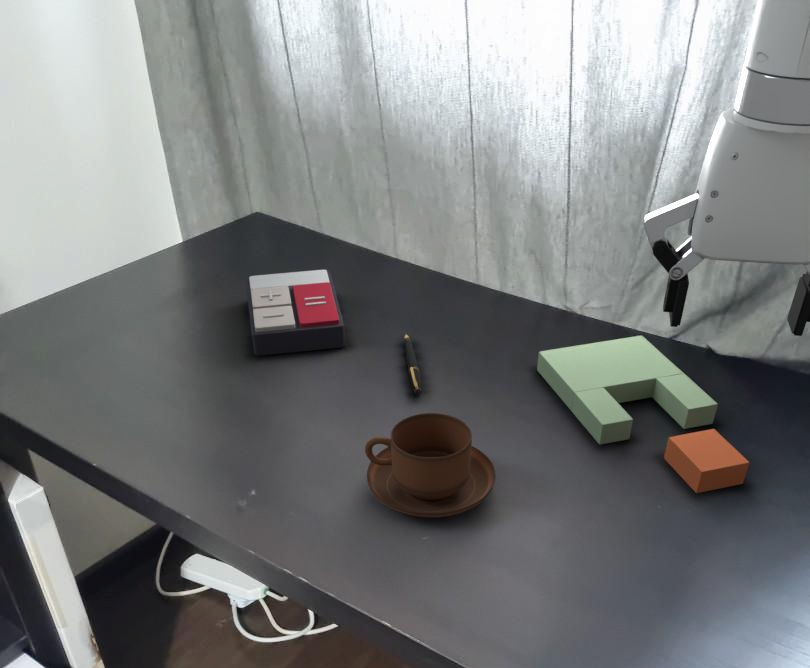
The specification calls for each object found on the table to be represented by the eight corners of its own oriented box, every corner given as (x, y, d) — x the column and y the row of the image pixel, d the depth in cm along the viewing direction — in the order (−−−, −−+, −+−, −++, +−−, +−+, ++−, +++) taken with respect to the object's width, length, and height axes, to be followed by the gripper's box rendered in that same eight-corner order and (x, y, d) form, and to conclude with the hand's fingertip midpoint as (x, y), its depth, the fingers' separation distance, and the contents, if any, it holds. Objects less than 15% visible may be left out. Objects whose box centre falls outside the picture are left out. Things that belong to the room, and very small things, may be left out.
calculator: (250, 329, 96) (244, 271, 107) (255, 361, 99) (249, 302, 110) (344, 319, 97) (329, 264, 108) (346, 351, 100) (331, 294, 111)
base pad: (638, 353, 98) (641, 334, 96) (712, 423, 86) (718, 404, 85) (536, 370, 95) (538, 351, 94) (599, 444, 84) (602, 424, 82)
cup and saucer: (376, 536, 73) (373, 480, 69) (361, 459, 82) (357, 406, 78) (507, 522, 74) (512, 466, 70) (479, 447, 83) (481, 394, 79)
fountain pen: (401, 339, 102) (401, 328, 101) (410, 338, 102) (410, 327, 101) (413, 400, 91) (413, 388, 90) (424, 399, 91) (424, 387, 90)
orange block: (708, 449, 83) (714, 428, 81) (743, 483, 78) (749, 462, 77) (663, 458, 82) (668, 437, 80) (696, 493, 77) (702, 471, 76)
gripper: (911, 88, 59) (834, 312, 70) (663, 81, 62) (627, 298, 73) (942, 115, 54) (852, 353, 65) (668, 106, 56) (627, 336, 68)
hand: (733, 324), depth 69 cm, fingers open, 9 cm apart
